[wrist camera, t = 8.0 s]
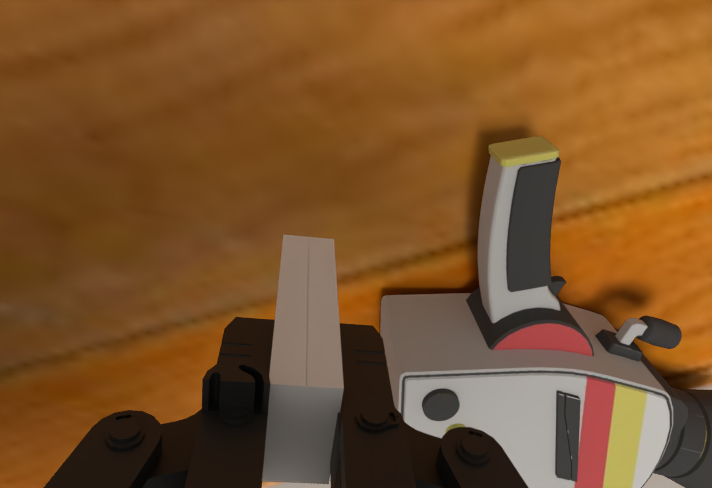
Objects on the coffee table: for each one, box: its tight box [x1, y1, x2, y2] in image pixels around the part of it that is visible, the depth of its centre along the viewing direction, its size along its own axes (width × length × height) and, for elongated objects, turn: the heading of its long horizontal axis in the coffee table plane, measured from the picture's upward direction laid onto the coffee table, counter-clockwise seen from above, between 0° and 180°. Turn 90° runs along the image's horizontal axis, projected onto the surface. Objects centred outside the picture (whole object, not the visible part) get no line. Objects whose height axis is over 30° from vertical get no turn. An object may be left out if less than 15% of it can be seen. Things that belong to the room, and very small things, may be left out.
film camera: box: [380, 136, 712, 488], centre depth 28 cm, size 7×19×15 cm
